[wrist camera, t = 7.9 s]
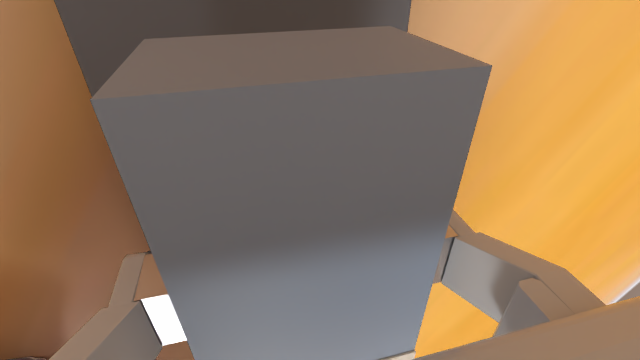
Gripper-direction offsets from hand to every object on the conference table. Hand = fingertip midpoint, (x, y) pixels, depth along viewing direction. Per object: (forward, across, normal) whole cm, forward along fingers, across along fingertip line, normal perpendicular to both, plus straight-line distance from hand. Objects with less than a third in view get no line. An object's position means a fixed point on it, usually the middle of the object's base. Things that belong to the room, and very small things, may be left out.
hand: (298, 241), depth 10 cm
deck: (+2, 0, 0) cm, 2 cm away
